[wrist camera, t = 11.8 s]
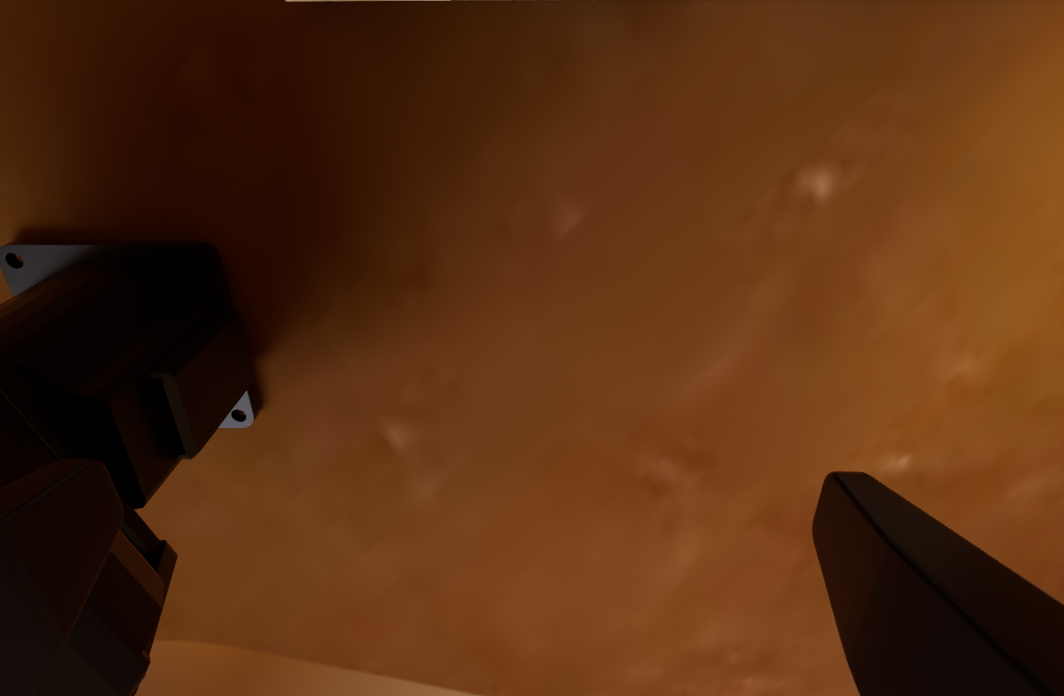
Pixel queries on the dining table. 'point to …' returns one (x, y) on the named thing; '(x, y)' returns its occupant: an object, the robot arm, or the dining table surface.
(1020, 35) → the dining table surface
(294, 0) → the peg board
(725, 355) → the dining table surface
